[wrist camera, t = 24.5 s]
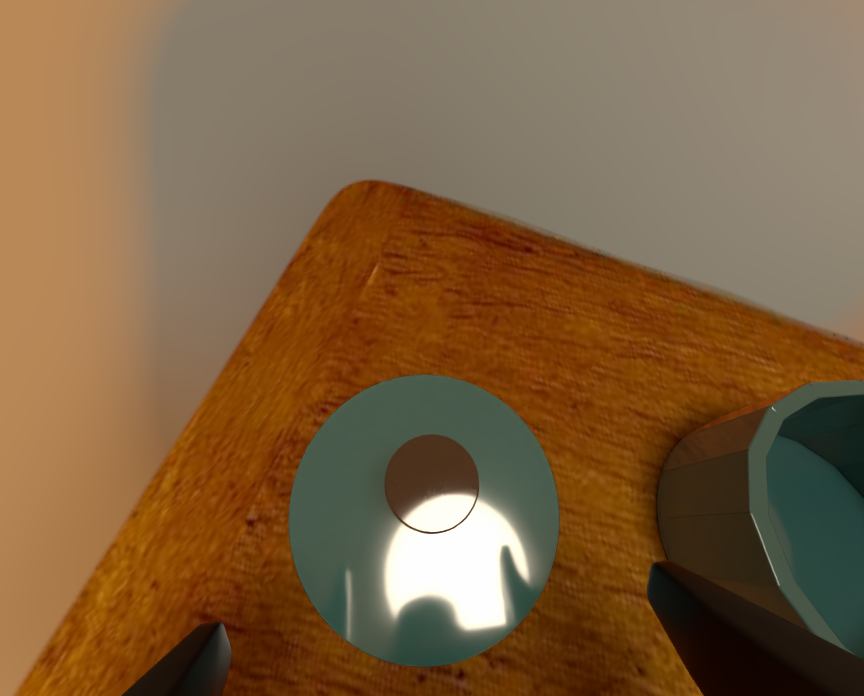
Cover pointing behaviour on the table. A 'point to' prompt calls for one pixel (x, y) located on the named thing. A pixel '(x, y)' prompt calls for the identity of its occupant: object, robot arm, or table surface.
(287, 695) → the table surface
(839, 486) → the jar
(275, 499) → the table surface
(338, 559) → the jar lid
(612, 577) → the table surface
